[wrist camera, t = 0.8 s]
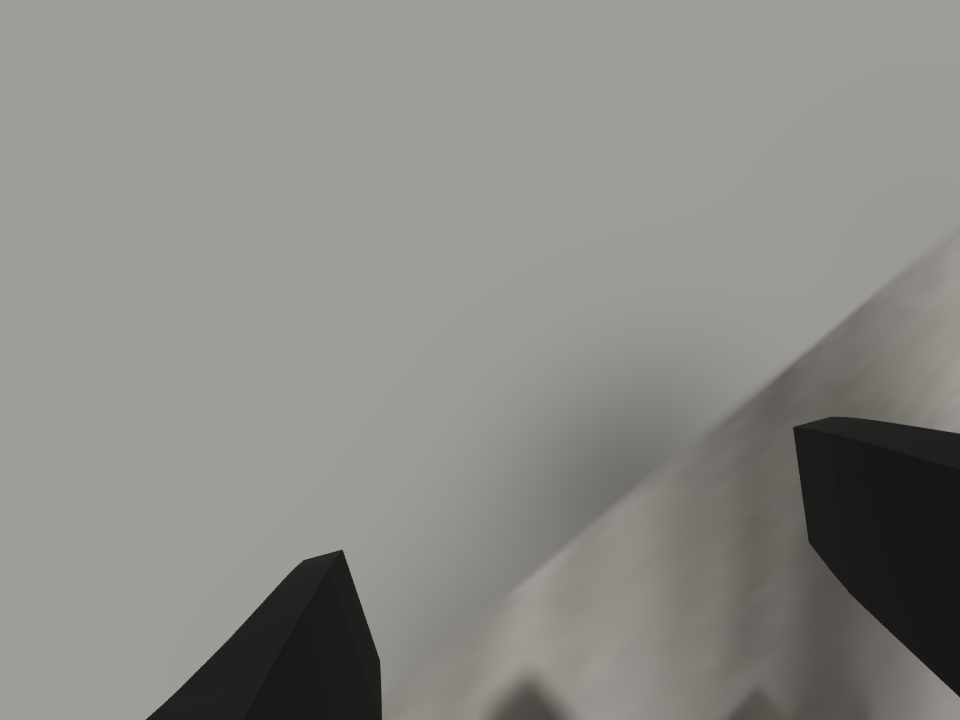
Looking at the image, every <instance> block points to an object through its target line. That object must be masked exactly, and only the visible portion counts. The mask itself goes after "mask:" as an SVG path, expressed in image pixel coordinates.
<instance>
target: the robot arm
mask: <svg viewBox="0 0 960 720" xmlns="http://www.w3.org/2000/svg"><path fill="white" fill-rule="evenodd" d="M793 430H794V437H795V444H796V452H797V459H798V466H799V473H800V481H801V488H802V495H803V503H804V510H805V517H806V524H807V532H808V539H809V543H810V544H811V546H812V547H813V548H814V549H815V551H816V552H817V553H818V555H819V556H820V557H821V558H822V560H823V561H824V562H825V564H826V565H827V566H828V567H829V569H830V570H831V571H832V572H833V574H834V575H835V576H836V577H837V578H838V580H839V581H840V582H841V583H842V584H843V586H844V587H845V588H846V589H847V590H848V592H849V593H850V594H851V595H852V596H853V597H854V598H855V599H856V600H857V601H858V602H859V603H860V604H861V605H862V606H864V607H865V608H866V609H867V610H868V611H869V612H870V613H871V614H872V615H873V616H874V617H875V618H876V619H877V620H878V621H879V622H880V623H881V624H882V625H883V626H884V627H885V628H887V629H888V630H889V631H890V632H891V633H892V634H893V635H894V636H895V637H896V638H897V639H898V640H899V641H900V642H901V643H902V644H904V645H905V646H906V647H907V648H908V649H909V650H910V651H911V652H912V653H913V654H914V655H915V656H916V657H917V658H919V659H920V660H921V661H922V662H923V663H924V664H925V665H926V666H927V667H928V668H929V669H930V670H931V671H932V672H933V673H935V674H936V675H937V676H938V677H939V678H940V679H941V680H942V681H943V682H944V683H945V684H946V685H947V686H948V687H949V688H951V689H952V690H953V691H954V692H955V693H956V694H957V695H958V696H959V697H960V434H958V433H952V432H945V431H939V430H933V429H927V428H921V427H914V426H908V425H902V424H895V423H889V422H882V421H875V420H867V419H859V418H848V417H828V418H825V419H821V420H817V421H814V422H810V423H806V424H803V425H799V426H795V427H793ZM146 720H382V699H381V671H380V659H379V656H378V654H377V650H376V647H375V644H374V641H373V639H372V636H371V633H370V630H369V627H368V624H367V621H366V618H365V615H364V612H363V609H362V606H361V603H360V600H359V597H358V594H357V591H356V588H355V585H354V582H353V579H352V577H351V573H350V570H349V567H348V564H347V562H346V559H345V556H344V553H343V550H339V551H336V552H332V553H329V554H325V555H321V556H317V557H314V558H310V559H306V560H303V562H301V563H300V564H299V565H298V566H297V567H295V569H293V571H291V573H290V574H289V575H288V576H287V577H286V578H285V579H284V580H283V581H282V582H281V583H280V584H279V585H278V586H277V587H276V588H275V590H274V591H273V592H272V593H271V594H270V595H269V596H268V597H267V598H266V600H265V601H264V602H263V603H262V604H261V605H260V606H259V607H258V608H257V609H256V610H255V612H254V613H253V614H252V615H251V616H250V617H249V618H248V619H247V620H246V621H245V622H244V624H243V625H242V626H241V627H240V628H239V629H238V630H237V631H236V632H235V633H234V634H233V635H232V637H231V638H230V639H229V640H228V641H227V642H226V643H225V644H224V645H223V646H222V647H221V648H220V649H219V650H218V651H217V652H216V653H215V654H214V655H213V656H212V657H211V658H210V659H209V660H208V661H207V662H206V663H205V664H204V665H203V666H202V667H201V668H200V669H199V670H198V671H197V672H196V673H195V674H194V675H193V676H192V677H191V678H190V679H189V680H188V681H187V682H186V683H185V684H184V685H183V686H182V687H181V688H180V689H179V690H178V691H177V692H176V693H175V694H174V695H173V696H172V697H170V698H169V699H168V700H167V701H166V702H165V703H164V704H163V705H162V706H161V707H160V708H158V709H157V710H156V711H155V712H154V713H153V714H152V715H151V716H150V717H148V718H147V719H146Z"/></svg>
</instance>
